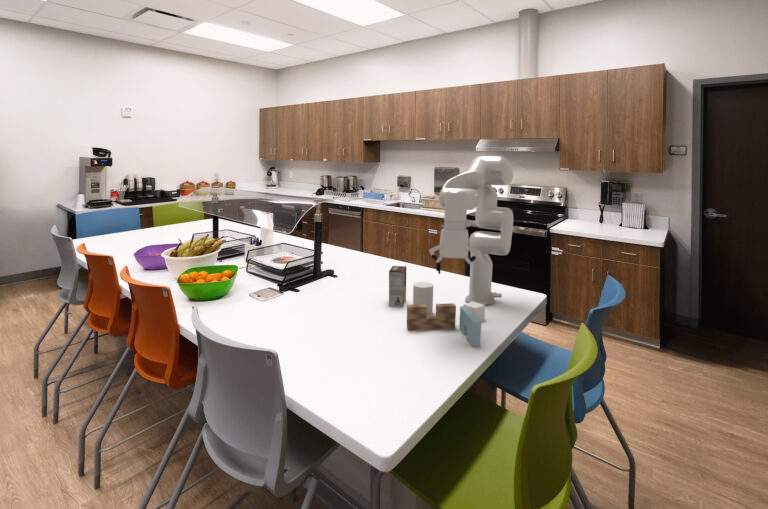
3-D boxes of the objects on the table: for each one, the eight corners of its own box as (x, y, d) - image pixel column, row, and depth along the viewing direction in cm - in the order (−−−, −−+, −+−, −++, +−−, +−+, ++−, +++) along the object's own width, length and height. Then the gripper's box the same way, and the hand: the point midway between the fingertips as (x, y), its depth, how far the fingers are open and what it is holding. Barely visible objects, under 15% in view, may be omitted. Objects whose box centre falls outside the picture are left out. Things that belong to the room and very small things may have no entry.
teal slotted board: (467, 328, 167) (468, 306, 165) (480, 346, 151) (481, 321, 149) (459, 329, 167) (460, 306, 165) (471, 346, 151) (472, 322, 149)
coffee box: (392, 299, 200) (392, 265, 196) (406, 300, 199) (406, 266, 195) (388, 306, 191) (388, 270, 188) (403, 307, 190) (403, 271, 186)
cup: (411, 309, 188) (412, 282, 185) (430, 308, 188) (431, 281, 186) (414, 316, 180) (415, 287, 177) (434, 315, 180) (435, 287, 178)
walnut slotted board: (453, 325, 170) (453, 303, 168) (455, 328, 167) (456, 305, 165) (406, 327, 168) (407, 304, 166) (407, 330, 165) (408, 307, 163)
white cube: (462, 318, 178) (463, 304, 176) (472, 315, 181) (473, 301, 180) (474, 322, 173) (474, 308, 172) (484, 319, 177) (485, 305, 175)
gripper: (479, 225, 156) (476, 272, 160) (430, 223, 159) (428, 270, 162) (481, 228, 149) (478, 277, 153) (429, 226, 151) (428, 275, 155)
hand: (452, 273), depth 157 cm, fingers open, 9 cm apart
